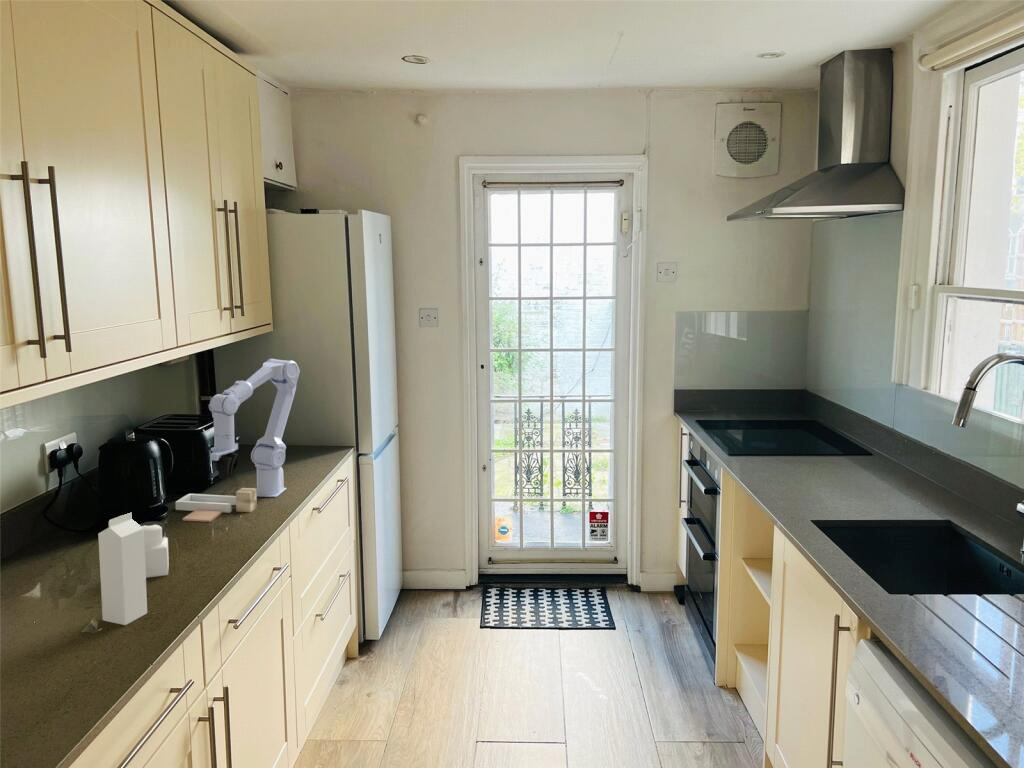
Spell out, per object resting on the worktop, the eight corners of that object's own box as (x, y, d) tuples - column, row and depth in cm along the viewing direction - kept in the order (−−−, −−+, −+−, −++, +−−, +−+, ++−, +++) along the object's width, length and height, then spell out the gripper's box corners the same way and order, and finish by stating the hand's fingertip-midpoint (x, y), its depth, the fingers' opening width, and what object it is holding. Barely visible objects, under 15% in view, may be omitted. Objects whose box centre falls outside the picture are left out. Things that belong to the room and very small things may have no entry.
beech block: (242, 506, 230) (242, 487, 230) (256, 507, 230) (256, 488, 229) (236, 511, 226) (235, 492, 225) (250, 512, 226) (250, 492, 225)
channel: (189, 501, 234) (189, 493, 233) (241, 504, 233) (241, 496, 232) (175, 509, 225) (175, 501, 225) (229, 512, 224) (229, 504, 224)
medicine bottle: (136, 568, 182) (134, 520, 180) (168, 564, 185) (167, 517, 183) (134, 579, 175) (132, 530, 174) (168, 575, 178) (166, 527, 176)
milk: (102, 620, 155) (96, 518, 152) (125, 608, 161) (120, 509, 157) (125, 625, 153) (119, 522, 150) (148, 613, 159) (143, 513, 156)
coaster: (196, 511, 224) (195, 509, 224) (222, 513, 224) (221, 511, 224) (182, 520, 216) (182, 518, 216) (209, 521, 216) (209, 519, 216)
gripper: (222, 428, 233) (223, 471, 235) (199, 438, 218) (201, 483, 220) (244, 429, 232) (245, 472, 234) (223, 439, 218) (224, 485, 220)
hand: (225, 477), depth 227 cm, fingers closed
